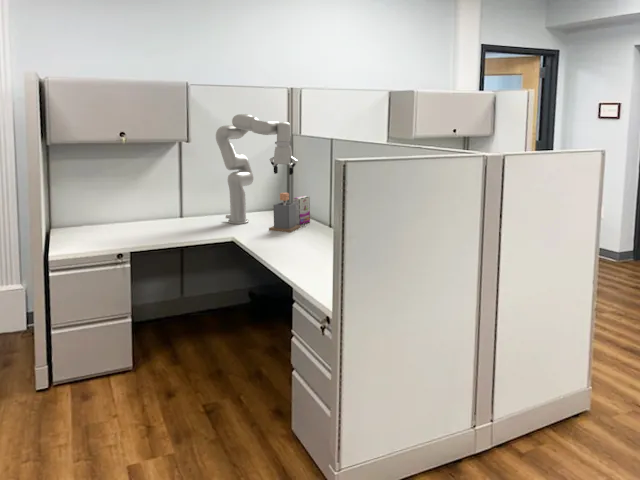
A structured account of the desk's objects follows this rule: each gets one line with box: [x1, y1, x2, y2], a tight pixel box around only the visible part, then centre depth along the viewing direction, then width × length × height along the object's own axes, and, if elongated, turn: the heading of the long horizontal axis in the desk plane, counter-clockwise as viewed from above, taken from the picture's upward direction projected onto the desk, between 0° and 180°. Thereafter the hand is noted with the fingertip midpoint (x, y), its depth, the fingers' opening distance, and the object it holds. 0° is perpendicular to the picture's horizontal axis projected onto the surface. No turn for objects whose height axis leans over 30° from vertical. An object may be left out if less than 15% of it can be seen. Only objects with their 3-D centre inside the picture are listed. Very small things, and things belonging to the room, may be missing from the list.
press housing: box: [268, 201, 302, 233], centre depth 352 cm, size 14×14×15 cm
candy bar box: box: [292, 195, 311, 226], centre depth 369 cm, size 11×5×16 cm, turn 146°
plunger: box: [279, 192, 290, 205], centre depth 351 cm, size 7×7×19 cm
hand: (283, 174), depth 347 cm, fingers open, 9 cm apart
